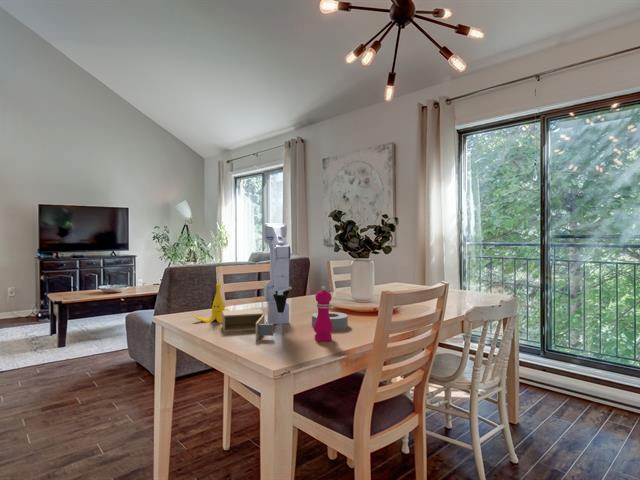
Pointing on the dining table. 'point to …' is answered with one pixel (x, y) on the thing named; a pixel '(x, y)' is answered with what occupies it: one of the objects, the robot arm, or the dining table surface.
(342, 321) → the tape roll
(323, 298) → the pepper mill
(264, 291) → the robot arm
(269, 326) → the front flap
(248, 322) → the carton
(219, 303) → the banana peel
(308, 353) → the dining table surface
